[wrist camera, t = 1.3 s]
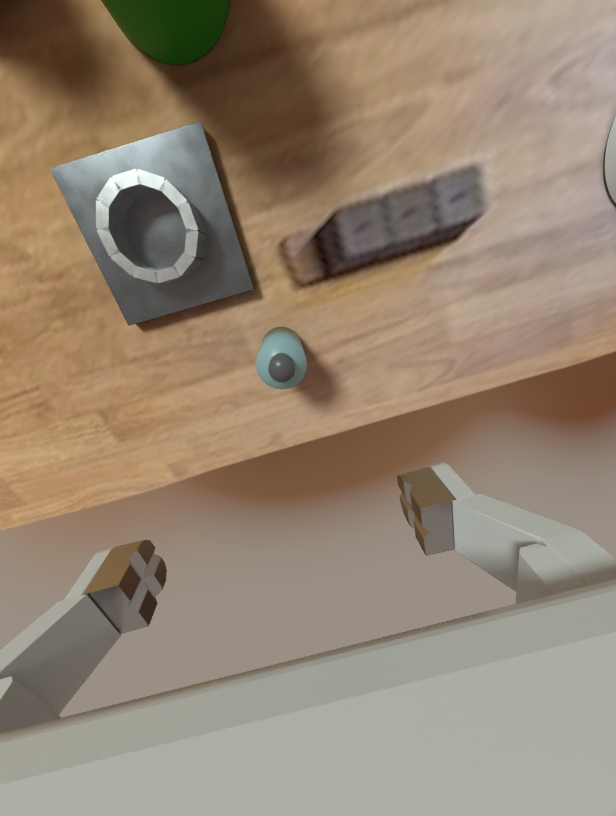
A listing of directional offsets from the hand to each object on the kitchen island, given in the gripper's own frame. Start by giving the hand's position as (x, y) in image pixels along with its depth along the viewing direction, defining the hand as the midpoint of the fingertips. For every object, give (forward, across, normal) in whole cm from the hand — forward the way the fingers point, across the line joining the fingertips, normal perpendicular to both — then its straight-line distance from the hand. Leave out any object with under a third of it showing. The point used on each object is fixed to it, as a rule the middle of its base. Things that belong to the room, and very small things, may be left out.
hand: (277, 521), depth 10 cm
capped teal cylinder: (+28, 0, 0) cm, 28 cm away
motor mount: (+28, +8, -14) cm, 32 cm away
